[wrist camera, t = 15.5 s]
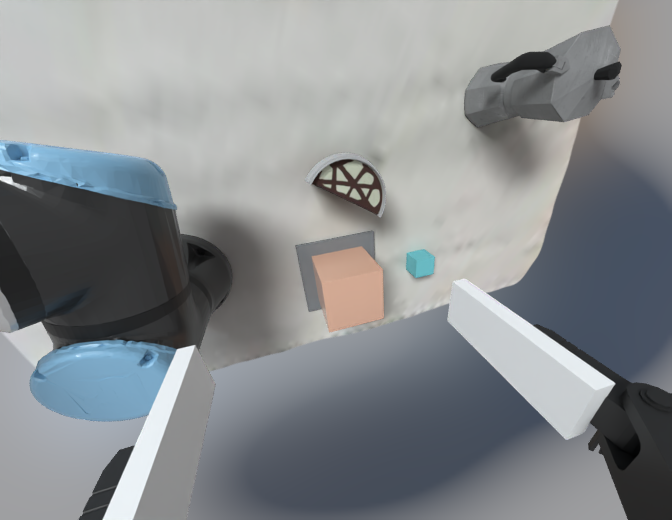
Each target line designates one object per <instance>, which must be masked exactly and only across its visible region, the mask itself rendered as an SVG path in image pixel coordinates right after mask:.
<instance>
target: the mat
mask: <svg viewBox="0 0 672 520" xmlns="http://www.w3.org/2000/svg"><path fill="white" fill-rule="evenodd" d="M360 246H362V247H363V248H364V249H365V250H366V251H367V252H368V254H369V255H370V256H371V257H372V258H373V259H374V260H375V255H374V232H373V231H368V232H363V233H358V234H353V235H348V236H342V237H337V238H332V239H327V240H322V241H317V242H311V243H306V244H301V245H296V249H297V255H298V260H299V265H300V270H301V275H302V280H303V285H304V290H305V295H306V300H307V305H308V310H309V312H310V311H314V310H318V309H322V308H321V305H320V302H319V298H318V292H317V286H316V280H315V274H314V269H313V263H312V257H311V256H316V255H321V254H326V253H331V252H335V251H340V250H345V249H350V248H355V247H360Z"/></svg>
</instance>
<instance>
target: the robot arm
mask: <svg viewBox="0 0 672 520" xmlns="http://www.w3.org/2000/svg"><path fill="white" fill-rule="evenodd" d="M175 210H177V206H176V205H175V204H174V203H173V200H172V196H171V192H170V189H169V185H168V181H167V178H166V175H165V173H164V171H163V170H162V169H161V168H160V167H159V166H158V165H157V164H155V163H154V162H152V161H150V160H148V159H145V158H140V157H134V156H127V155H119V154H112V153H104V152H96V151H88V150H80V149H72V148H64V147H56V146H48V145H40V144H32V143H23V142H15V141H6V140H0V332H6V333H11V332H14V331H17V330H20V329H22V328H25V327H27V326H30V325H33V324H35V323H38V322H42V323H43V325H44V327H45V329H46V331H47V333H48V335H49V336H50V338H51V340H52V342H53V351H51V352H49V353H48V354H47V355H46V356H44V357H42V358H41V359H40V360H39V361H38V364H37V366H36V370H35V371H34V372H33V374H32V375H31V378H30V390H31V393H32V394H33V396H34V397H35V399H36V400H37V401H38V402H39V403H41V404H42V405H43V406H45V407H46V408H48V409H50V410H52V411H54V412H56V413H59V414H61V415H64V416H68V417H72V418H76V419H85V420H90V421H123V420H130V419H135V418H140V417H143V416H147V415H148V417H147V419H146V422H145V424H144V426H143V429H142V431H141V433H140V435H139V438H138V440H137V442H136V445H135V446H131V447H128V448H124V449H121V450H119V451H118V452H117V454H116V455H115V456H114V458H113V459H112V460H111V462H110V463H109V464H108V465H107V466H106V468H105V469H104V470H103V472H102V474H101V476H100V478H99V480H98V482H97V484H96V486H95V488H94V490H93V495H92V496H91V497H90V498H89V500H88V502H87V504H86V506H85V508H84V510H83V515H82V516H80V518H79V520H186V519H187V515H188V510H189V505H190V501H191V496H192V491H193V487H194V482H195V477H196V472H197V468H198V464H199V459H200V454H201V450H202V445H203V440H204V435H205V431H206V427H207V422H208V417H209V412H210V408H211V403H212V399H213V394H214V389H215V385H216V384H215V383H214V381H213V379H212V377H211V375H210V373H209V371H208V369H207V367H206V365H205V363H204V361H203V359H202V357H201V355H200V353H199V349H200V346H201V343H202V340H203V336H204V333H205V330H206V327H207V324H208V321H209V318H210V315H211V314H212V313H213V312H214V311H215V310H216V309H217V308H218V307H219V306H220V305H221V304H222V303H223V302H224V301H225V299H226V298H227V296H228V294H229V291H230V288H231V284H232V270H231V267H230V264H229V262H228V260H227V259H226V257H225V256H224V255H223V253H222V252H221V251H220V250H219V249H218V248H216V247H215V246H214V245H212V244H211V243H209V242H207V241H205V240H203V239H200V238H198V237H194V236H190V235H184V234H180V230H179V225H178V221H177V216H176V211H175ZM447 321H448V322H449V323H450V324H451V325H452V326H453V327H454V328H455V329H456V330H457V331H458V332H459V333H460V334H461V335H462V336H463V337H464V338H465V339H467V341H468V342H469V343H470V344H471V345H472V346H473V347H474V348H475V349H476V350H477V351H478V352H479V353H480V354H481V355H482V356H483V357H484V358H485V359H486V360H487V361H488V362H489V363H490V364H491V365H492V366H493V367H494V368H495V369H496V370H497V371H498V372H499V373H500V374H501V375H502V376H503V377H505V379H506V380H507V381H508V382H509V383H510V384H511V385H512V386H513V387H514V388H515V389H516V390H517V391H518V392H519V393H520V394H521V395H522V396H523V397H524V398H525V399H526V400H527V401H528V402H529V403H531V405H532V406H533V407H534V408H535V409H536V410H537V411H538V412H539V413H540V414H541V415H542V416H543V417H544V418H545V419H546V420H547V421H548V422H549V423H550V424H551V425H552V426H553V427H554V428H555V429H556V430H557V431H558V432H559V433H560V434H561V435H562V436H563V437H564V438H565V439H566V440H568V439H570V438H573V437H575V436H578V435H580V434H582V433H584V432H585V430H586V428H587V427H588V425H589V424H590V423H591V424H592V425H593V426H595V428H596V429H598V430H597V432H596V433H595V435H594V436H593V437H592V439H591V440H590V442H589V443H588V446H589V450H591V451H594V449H595V448H596V446H597V445H598V444H599V445H600V450H599V453H600V454H602V455H603V456H604V458H605V461H606V463H607V466H608V469H609V471H610V474H611V477H612V479H613V482H614V484H615V487H616V490H617V492H618V495H619V498H620V500H621V503H622V505H623V508H624V511H625V513H626V516H627V519H628V520H672V394H670V393H668V392H666V391H664V390H662V389H660V388H658V387H654V386H651V385H649V384H644V383H631V382H629V381H627V380H626V379H624V378H622V377H621V376H619V375H618V374H616V373H615V372H613V371H612V370H610V369H609V368H607V367H606V366H604V365H603V364H601V363H600V362H598V361H597V360H595V359H594V358H592V357H591V356H589V355H588V354H586V353H585V352H583V351H582V350H579V349H578V348H577V347H576V346H574V345H573V344H571V343H570V342H567V341H566V340H565V339H564V338H562V337H561V336H559V335H558V334H556V333H555V332H553V331H552V330H549V329H547V328H544V327H542V326H540V325H537V324H536V325H533V326H532V325H531V324H530V323H528V322H527V321H525V320H524V319H522V318H521V317H520V316H518V315H517V314H515V313H514V312H512V311H511V310H509V309H508V308H507V307H505V306H504V305H502V304H501V303H499V302H498V301H497V300H495V299H494V298H492V297H491V296H489V295H488V294H487V293H485V292H484V291H482V290H481V289H479V288H478V287H477V286H475V285H474V284H472V283H471V282H469V281H468V280H466V279H461V280H457V281H453V283H452V290H451V298H450V305H449V313H448V320H447Z"/></svg>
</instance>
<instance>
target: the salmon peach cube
mask: <svg viewBox="0 0 672 520" xmlns="http://www.w3.org/2000/svg"><path fill="white" fill-rule="evenodd" d="M311 257H312V263H313V269H314V274H315V280H316V286H317V292H318V298H319V302H320V305H321V308H322V311H323V314H324V317H325V321H326V324H327V327H328V330H329V332H333V331H337V330H341V329H345V328H349V327H352V326H356V325H360V324H364V323H368V322H372V321H375V320H379V319H383V318H384V302H383V269H382V268H381V267H380V266H379V265H378V264H377V263H376V261H375V260H374V259H373V258H372V257H371V256H370V255H369V254H368V252H367V251H366V250H365V249H364V248H363V247H362V246H360V247H355V248H350V249H345V250H340V251H335V252H331V253H326V254H321V255H316V256H311Z"/></svg>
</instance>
